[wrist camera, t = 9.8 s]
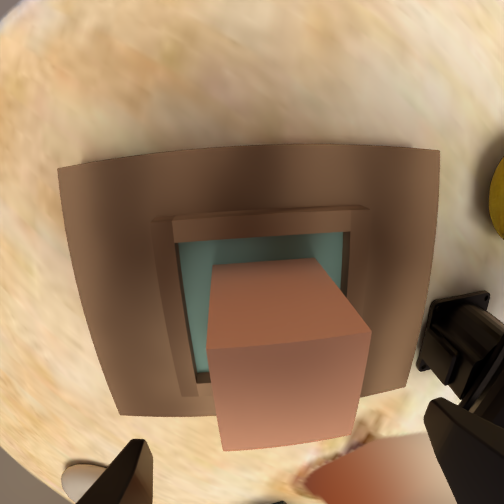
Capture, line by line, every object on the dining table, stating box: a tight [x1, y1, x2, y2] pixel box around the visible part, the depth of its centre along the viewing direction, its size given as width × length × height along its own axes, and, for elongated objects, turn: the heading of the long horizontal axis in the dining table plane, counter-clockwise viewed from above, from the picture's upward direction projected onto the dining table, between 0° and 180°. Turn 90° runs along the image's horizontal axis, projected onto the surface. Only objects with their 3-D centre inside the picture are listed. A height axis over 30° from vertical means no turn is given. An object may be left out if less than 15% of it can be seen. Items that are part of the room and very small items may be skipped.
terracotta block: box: [206, 258, 372, 451], centre depth 13 cm, size 5×5×7 cm
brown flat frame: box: [57, 144, 440, 417], centre depth 18 cm, size 20×16×4 cm
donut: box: [61, 464, 106, 503], centre depth 25 cm, size 10×4×10 cm
